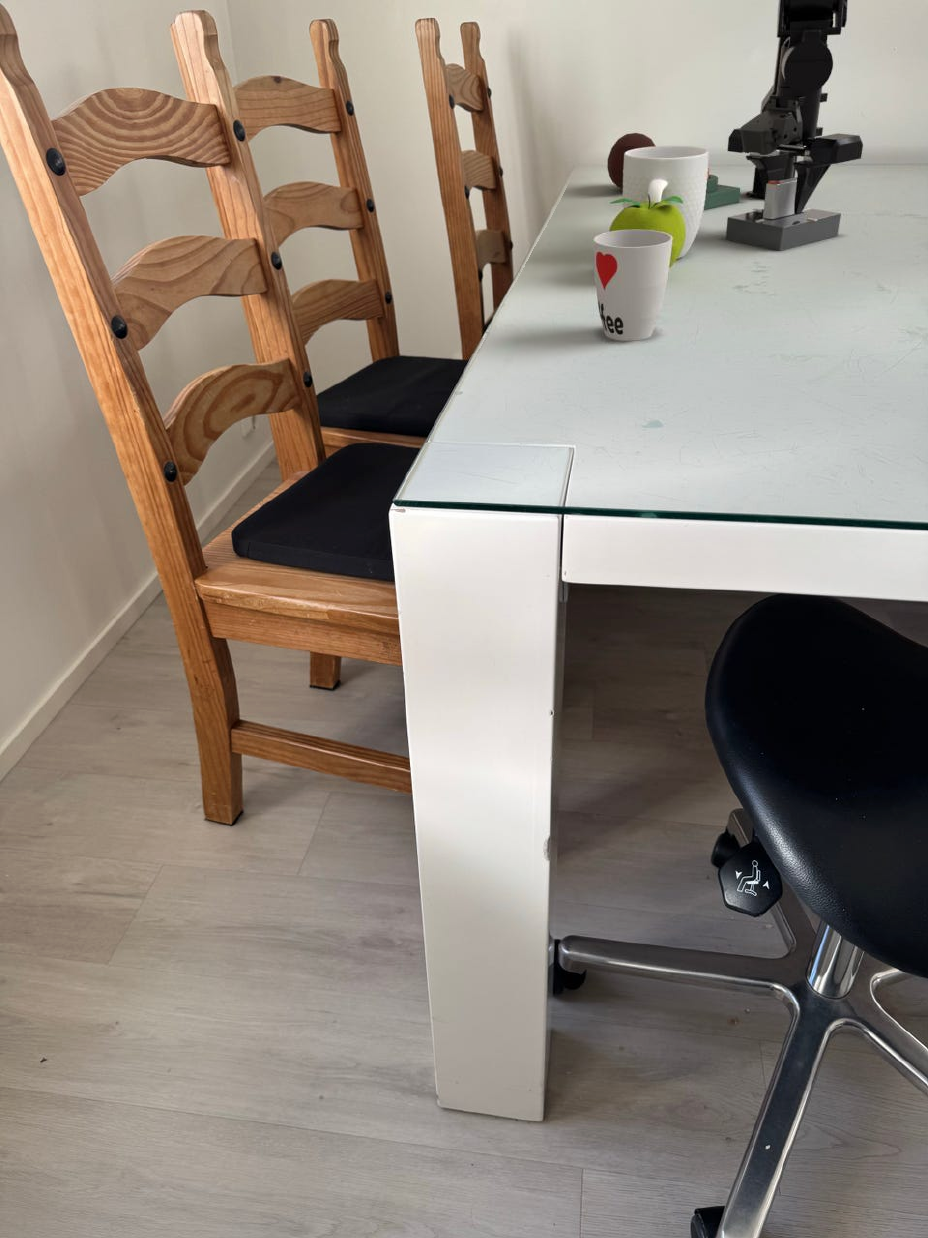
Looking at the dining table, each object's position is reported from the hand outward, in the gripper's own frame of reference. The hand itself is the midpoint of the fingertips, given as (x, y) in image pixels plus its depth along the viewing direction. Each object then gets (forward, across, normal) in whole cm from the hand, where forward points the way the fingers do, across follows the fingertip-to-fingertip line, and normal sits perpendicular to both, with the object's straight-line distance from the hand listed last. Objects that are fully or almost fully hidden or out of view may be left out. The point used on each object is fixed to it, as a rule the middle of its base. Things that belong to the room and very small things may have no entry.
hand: (784, 211), depth 136 cm
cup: (+4, +18, -45) cm, 49 cm away
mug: (+4, -4, -20) cm, 21 cm away
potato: (+4, -43, +10) cm, 44 cm away
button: (0, -26, +9) cm, 28 cm away
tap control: (+4, -26, +9) cm, 28 cm away
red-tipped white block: (0, 0, 0) cm, 0 cm away
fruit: (+4, +2, -28) cm, 28 cm away
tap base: (+4, 0, 0) cm, 4 cm away
